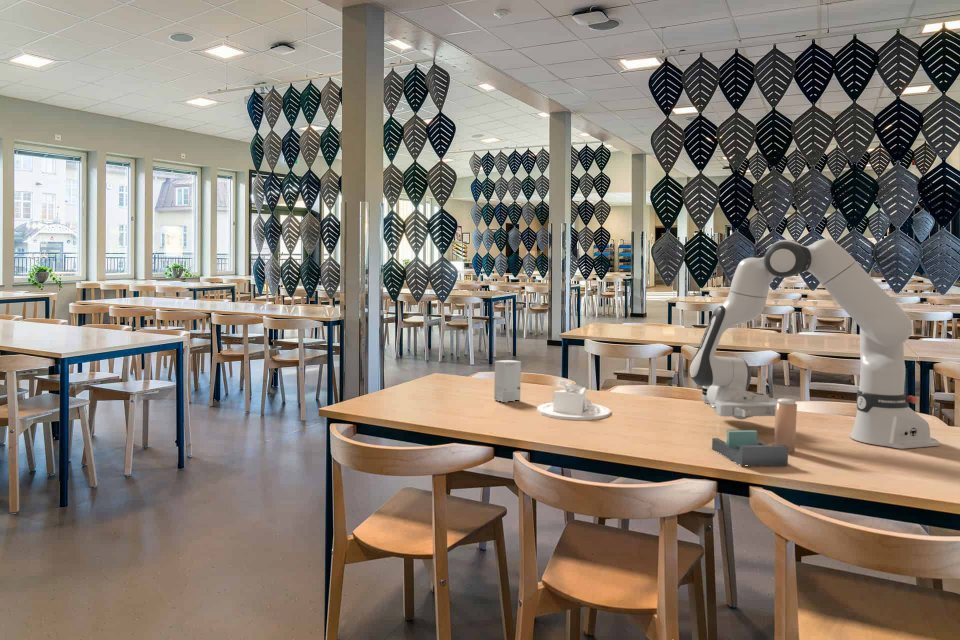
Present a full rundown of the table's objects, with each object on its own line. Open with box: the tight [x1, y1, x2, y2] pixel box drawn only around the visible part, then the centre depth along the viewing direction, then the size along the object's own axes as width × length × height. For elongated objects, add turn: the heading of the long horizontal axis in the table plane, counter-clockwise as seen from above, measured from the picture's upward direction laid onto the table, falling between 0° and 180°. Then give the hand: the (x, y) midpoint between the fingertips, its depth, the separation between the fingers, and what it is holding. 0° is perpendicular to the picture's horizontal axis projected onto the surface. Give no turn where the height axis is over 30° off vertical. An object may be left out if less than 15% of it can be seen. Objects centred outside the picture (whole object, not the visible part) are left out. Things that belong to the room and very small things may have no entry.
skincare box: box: [493, 359, 522, 403], centre depth 242 cm, size 8×6×15 cm
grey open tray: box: [711, 437, 789, 467], centre depth 172 cm, size 12×16×5 cm
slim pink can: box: [773, 397, 798, 455], centre depth 178 cm, size 5×5×14 cm
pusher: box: [726, 429, 758, 450], centre depth 174 cm, size 8×4×6 cm, turn 96°
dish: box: [536, 379, 612, 421], centre depth 224 cm, size 25×25×11 cm
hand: (762, 414), depth 190 cm, fingers open, 8 cm apart
